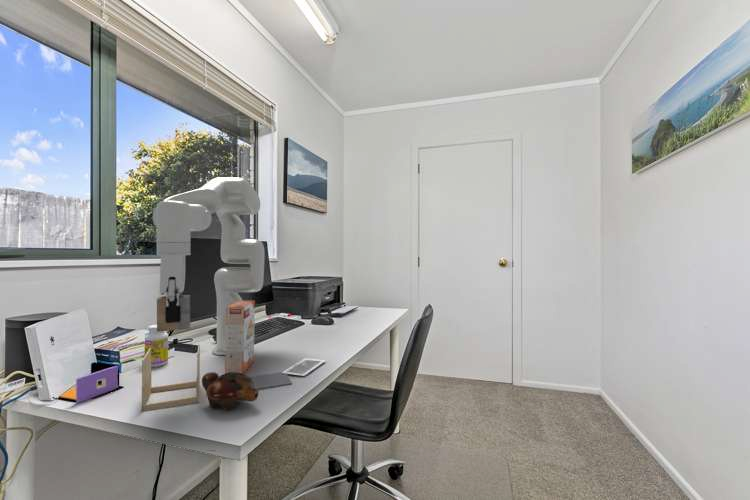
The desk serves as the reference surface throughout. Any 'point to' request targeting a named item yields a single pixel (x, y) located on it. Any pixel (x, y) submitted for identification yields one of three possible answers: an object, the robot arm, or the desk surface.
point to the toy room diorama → (94, 383)
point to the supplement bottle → (157, 346)
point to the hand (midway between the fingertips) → (174, 319)
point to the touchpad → (304, 366)
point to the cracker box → (239, 336)
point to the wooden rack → (165, 386)
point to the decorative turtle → (228, 389)
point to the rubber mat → (270, 380)
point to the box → (183, 324)
